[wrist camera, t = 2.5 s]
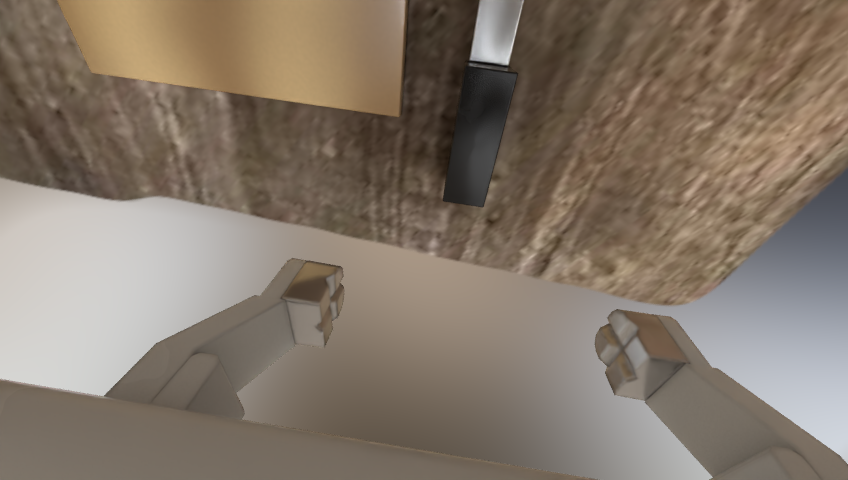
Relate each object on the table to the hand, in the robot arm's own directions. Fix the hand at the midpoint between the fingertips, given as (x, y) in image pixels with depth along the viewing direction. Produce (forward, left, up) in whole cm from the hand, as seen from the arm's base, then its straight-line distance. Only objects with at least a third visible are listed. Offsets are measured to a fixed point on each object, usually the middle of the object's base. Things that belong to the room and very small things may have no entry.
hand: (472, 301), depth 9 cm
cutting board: (+9, -13, -14) cm, 21 cm away
